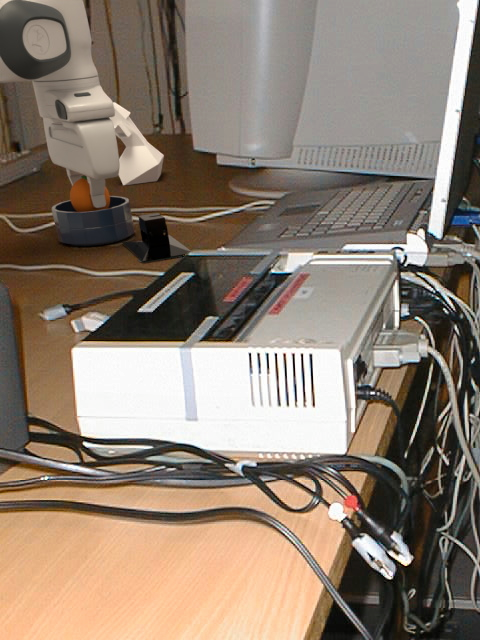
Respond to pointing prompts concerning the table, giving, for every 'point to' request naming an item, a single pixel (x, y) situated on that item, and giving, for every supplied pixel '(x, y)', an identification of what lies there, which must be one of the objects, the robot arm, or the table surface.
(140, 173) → the white angular stand
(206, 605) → the table surface
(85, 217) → the bowl
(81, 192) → the toy tangerine
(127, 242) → the black winged block
